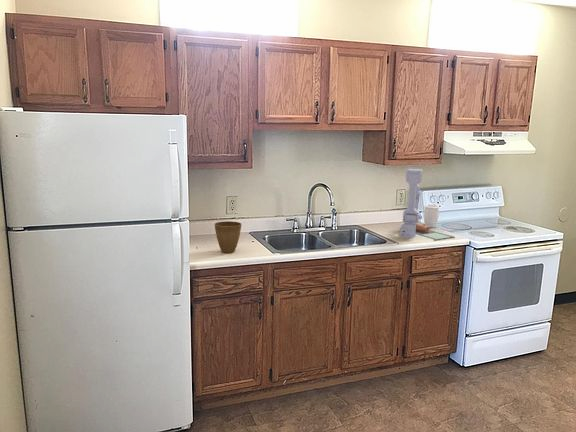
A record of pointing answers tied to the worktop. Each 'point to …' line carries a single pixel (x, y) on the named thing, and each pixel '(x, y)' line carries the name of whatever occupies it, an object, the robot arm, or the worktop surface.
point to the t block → (422, 228)
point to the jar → (431, 215)
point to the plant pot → (228, 235)
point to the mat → (434, 235)
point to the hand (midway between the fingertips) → (412, 227)
